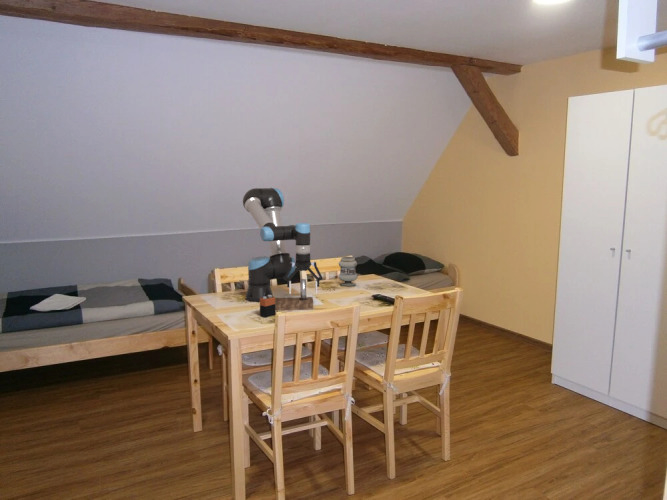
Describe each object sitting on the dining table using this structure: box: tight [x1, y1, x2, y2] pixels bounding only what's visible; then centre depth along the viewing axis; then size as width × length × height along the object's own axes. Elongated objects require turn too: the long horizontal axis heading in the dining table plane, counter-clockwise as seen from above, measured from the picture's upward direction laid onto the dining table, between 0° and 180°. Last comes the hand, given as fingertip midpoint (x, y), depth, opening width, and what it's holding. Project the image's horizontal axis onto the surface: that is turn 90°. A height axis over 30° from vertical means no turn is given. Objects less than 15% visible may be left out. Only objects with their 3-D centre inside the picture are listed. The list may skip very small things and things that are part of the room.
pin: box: [299, 278, 307, 300], centre depth 259 cm, size 3×3×14 cm
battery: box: [259, 295, 276, 319], centre depth 244 cm, size 4×7×10 cm, turn 140°
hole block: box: [275, 296, 314, 311], centre depth 259 cm, size 24×9×4 cm, turn 95°
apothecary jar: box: [338, 256, 358, 288], centre depth 314 cm, size 12×12×18 cm
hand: (303, 293), depth 259 cm, fingers open, 13 cm apart
